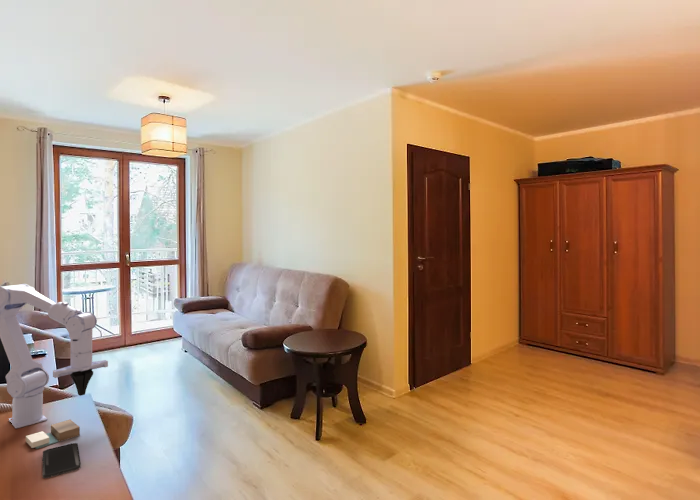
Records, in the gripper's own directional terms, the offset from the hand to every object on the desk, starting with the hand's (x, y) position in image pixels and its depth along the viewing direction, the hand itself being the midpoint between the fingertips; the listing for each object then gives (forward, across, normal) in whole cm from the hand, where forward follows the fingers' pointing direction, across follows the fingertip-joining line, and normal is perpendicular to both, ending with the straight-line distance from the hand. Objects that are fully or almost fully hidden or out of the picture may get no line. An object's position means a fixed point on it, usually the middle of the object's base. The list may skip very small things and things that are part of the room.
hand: (81, 394), depth 126 cm
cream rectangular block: (+8, -12, -4) cm, 15 cm away
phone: (+10, -11, -20) cm, 25 cm away
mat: (+9, -11, -4) cm, 15 cm away
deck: (+9, -6, -4) cm, 12 cm away
